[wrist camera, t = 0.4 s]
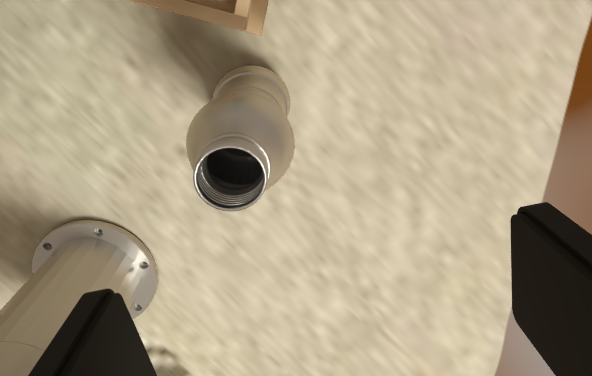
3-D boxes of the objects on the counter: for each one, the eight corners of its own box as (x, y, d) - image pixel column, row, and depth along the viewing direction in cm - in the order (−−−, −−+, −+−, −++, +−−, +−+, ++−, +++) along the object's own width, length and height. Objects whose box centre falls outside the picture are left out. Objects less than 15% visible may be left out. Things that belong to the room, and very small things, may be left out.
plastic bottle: (204, 77, 40) (137, 144, 21) (275, 49, 39) (269, 94, 20) (233, 142, 42) (195, 253, 24) (300, 117, 41) (315, 212, 23)
